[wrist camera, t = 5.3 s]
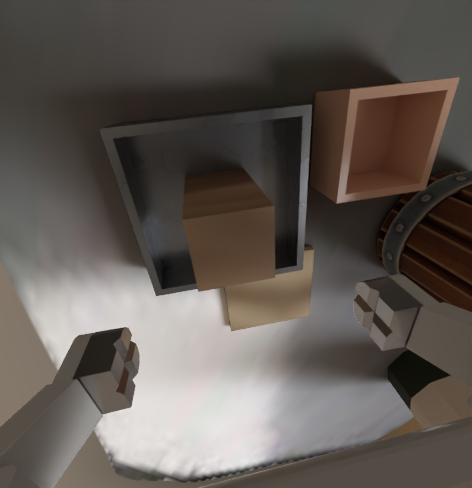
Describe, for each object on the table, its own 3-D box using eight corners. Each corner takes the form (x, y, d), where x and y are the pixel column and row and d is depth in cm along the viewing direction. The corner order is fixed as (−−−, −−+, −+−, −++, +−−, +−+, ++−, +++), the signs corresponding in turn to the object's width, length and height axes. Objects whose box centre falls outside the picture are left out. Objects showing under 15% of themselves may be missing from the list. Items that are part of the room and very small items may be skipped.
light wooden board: (220, 261, 21) (221, 265, 20) (311, 245, 22) (314, 249, 21) (230, 326, 25) (231, 331, 24) (306, 311, 26) (309, 315, 25)
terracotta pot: (315, 92, 16) (350, 89, 12) (402, 82, 16) (459, 77, 13) (309, 184, 19) (336, 203, 15) (383, 174, 19) (425, 189, 16)
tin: (114, 123, 15) (98, 128, 12) (292, 103, 16) (312, 104, 13) (160, 271, 20) (156, 296, 18) (289, 249, 21) (302, 269, 19)
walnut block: (184, 176, 16) (182, 219, 10) (243, 168, 17) (274, 205, 11) (195, 229, 18) (198, 291, 12) (247, 221, 19) (275, 277, 13)
